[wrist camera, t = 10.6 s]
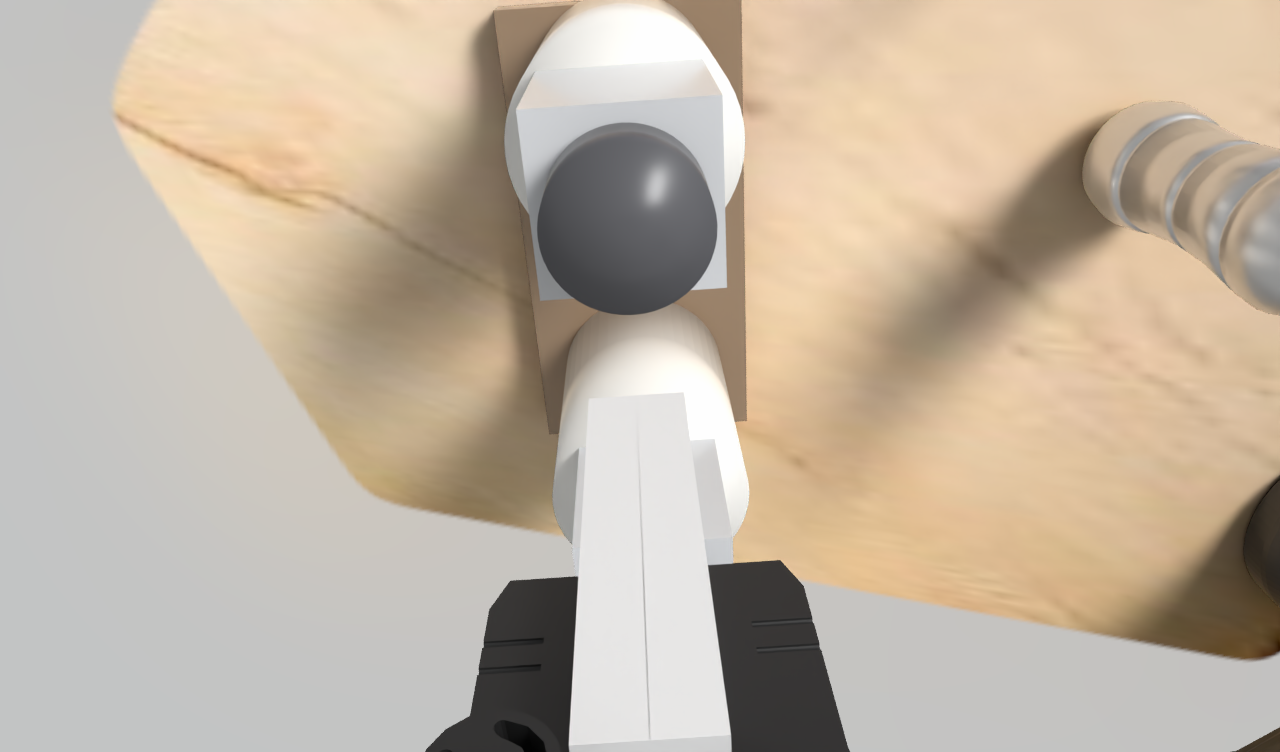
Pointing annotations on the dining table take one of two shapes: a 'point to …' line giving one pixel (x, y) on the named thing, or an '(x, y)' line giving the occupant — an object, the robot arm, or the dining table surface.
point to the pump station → (714, 133)
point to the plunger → (626, 219)
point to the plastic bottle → (1193, 192)
